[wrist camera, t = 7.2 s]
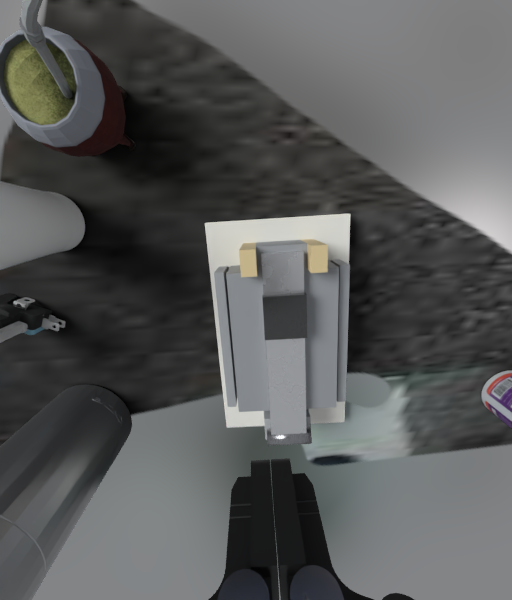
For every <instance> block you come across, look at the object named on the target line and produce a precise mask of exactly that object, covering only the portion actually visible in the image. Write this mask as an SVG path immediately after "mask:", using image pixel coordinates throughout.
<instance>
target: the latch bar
mask: <svg viewBox="0 0 512 600" xmlns="http://www.w3.org/2000/svg"><path fill="white" fill-rule="evenodd" d="M261 260H262V277H263V295H262V300H263V317H264V334H265V340H266V348H267V366H268V384H269V401H270V419H271V429H267V442H268V445H289V444H311V443H312V438H311V430H310V427H306V370H305V338H307V294H306V293H304V252H303V251H286V252H270V253H261Z"/></svg>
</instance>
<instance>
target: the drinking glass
mask: <svg viewBox="0 0 512 600" xmlns="http://www.w3.org/2000/svg"><path fill="white" fill-rule="evenodd" d="M84 233H85V221H84V217H83V215H82V213H81V211H80V209H79V208H78V206H77V205H76V204H75V203H74V202H73V201H72V200H70V199H69V198H67V197H66V196H64V195H61V194H58V193H54V192H47V191H40V190H36V189H31V188H27V187H23V186H18V185H14V184H10V183H6V182H1V181H0V270H3V269H6V268H9V267H12V266H15V265H18V264H21V263H25V262H28V261H31V260H34V259H37V258H41V257H44V256H47V255H50V254H54V253H58V252H64V251H68V250H71V249H73V248H74V247H76V246H77V245H78V244H79V243H80V242H81V240H82V239H83V237H84Z"/></svg>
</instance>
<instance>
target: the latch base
mask: <svg viewBox="0 0 512 600" xmlns="http://www.w3.org/2000/svg"><path fill="white" fill-rule="evenodd" d="M205 230H206V239H207V249H208V258H209V267H210V277H211V286H212V295H213V305H214V314H215V323H216V332H217V342H218V351H219V360H220V370H221V379H222V388H223V397H224V407H225V416H226V425H227V427H249V426H250V427H251V426H265V439H266V440H267V429H271V419H270V401H269V384H268V366H267V348H266V340H265V334H264V317H263V300H262V295H263V277H262V260H261V253H270V252H286V251H303V252H304V293H306V294H307V338H305V370H306V427H310V430H311V424H316V423H338V422H344V421H345V401H346V381H347V347H348V313H349V279H350V265H349V245H350V214H334V215H319V216H303V217H288V218H272V219H256V220H241V221H225V222H209V223H205Z"/></svg>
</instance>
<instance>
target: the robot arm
mask: <svg viewBox="0 0 512 600" xmlns="http://www.w3.org/2000/svg"><path fill="white" fill-rule="evenodd" d="M131 427H132V421H131V415H130V412H129V410H128V408H127V407H126V405H125V404H124V402H123V401H122V400H121V399H120V398H119V397H118V396H116V395H115V394H114V393H112V392H111V391H109V390H107V389H105V388H102V387H99V386H95V385H88V384H87V385H76V386H72V387H70V388H68V389H66V390H64V391H63V392H61V393H60V394H59V395H58V396H57V397H56V398H55V399H53V400H52V401H51V402H50V403H49V404H48V405H47V406H45V407H44V408H43V409H42V410H41V411H40V412H39V413H38V414H36V415H35V416H34V417H33V418H32V419H31V420H29V421H28V422H27V423H26V424H25V425H24V426H23V427H22V428H20V429H19V430H18V431H17V432H16V433H15V434H14V435H13V436H11V437H10V438H9V439H8V440H7V441H6V442H5V443H4V444H2V445H1V446H0V600H32V598H33V597H34V595H35V593H36V592H37V590H38V588H39V586H40V585H41V583H42V581H43V579H44V578H45V576H46V574H47V572H48V571H49V569H50V567H51V566H52V564H53V562H54V560H55V559H56V557H57V556H58V554H59V552H60V550H61V549H62V547H63V546H64V544H65V542H66V541H67V539H68V537H69V535H70V534H71V532H72V530H73V529H74V527H75V525H76V524H77V522H78V520H79V519H80V517H81V515H82V514H83V512H84V510H85V508H86V507H87V505H88V503H89V502H90V500H91V498H92V497H93V495H94V493H95V492H96V490H97V488H98V487H99V485H100V483H101V482H102V480H103V478H104V477H105V475H106V473H107V471H108V470H109V468H110V466H111V465H112V463H113V461H114V460H115V458H116V456H117V455H118V453H119V451H120V450H121V448H122V446H123V445H124V442H125V441H126V440H127V438H128V436H129V434H130V431H131ZM271 468H272V487H273V500H272V487H271V473H270V460H256V461H251V477H238V478H237V481H236V482H235V484H234V486H233V488H232V492H231V507H230V520H229V532H228V545H227V558H226V569H225V574H224V578H223V581H222V583H221V585H220V587H219V589H218V590H217V591H216V593H215V594H214V595H213V596H212V597H211V598H210V599H209V600H279V587H278V569H277V554H278V568H279V581H280V594H281V600H373V599H371V598H368V597H365V596H362V595H359V594H357V593H355V592H353V591H352V590H350V589H349V588H348V587H346V586H345V585H344V584H343V583H342V582H341V581H340V579H339V578H338V576H337V575H336V573H335V571H334V569H333V567H332V564H331V560H330V556H329V552H328V548H327V543H326V540H325V535H324V530H323V526H322V522H321V518H320V514H319V509H318V505H317V501H316V496H315V492H314V488H313V485H312V483H311V482H310V480H309V479H308V477H307V476H306V475H305V473H300V474H292V471H291V464H290V459H272V460H271ZM273 502H274V514H273ZM274 516H275V527H274ZM275 528H276V541H275ZM276 542H277V554H276ZM382 600H414V599H412V598H411V597H409V596H406V595H403V594H399V593H393V594H389V595H387V596H385V597H384V598H383V599H382Z"/></svg>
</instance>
